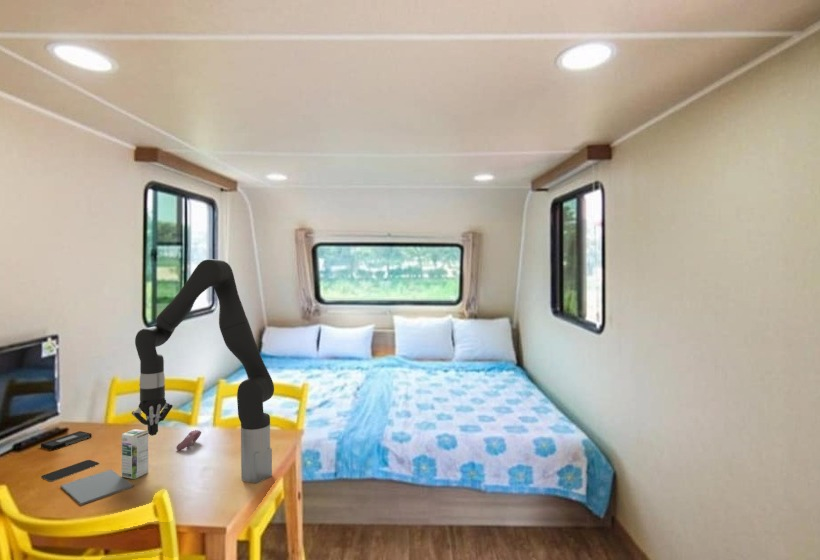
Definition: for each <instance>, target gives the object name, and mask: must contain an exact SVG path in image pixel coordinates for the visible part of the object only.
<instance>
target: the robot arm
mask: <svg viewBox="0 0 820 560" xmlns="http://www.w3.org/2000/svg"><path fill="white" fill-rule="evenodd" d="M210 287H213V289H214V291H215V294H216V296H217V300H218V304H219V311H218V312H219V313H218V326H219V330H220V334H221V336H222V339H223V342H224V343H225V346H226V348H227V349H228V350H229V351H230V353H232V355H233V356H234V357H236V358H237V360H238V361H240V363H241V364H242V366H243V367H244V370H245V373H246V376H247V378H246V379H245V380H243V381H241V383H239V385H238V388H237V391H236V392H237V393H236V401H237V416H238V419H239V421H240V466H241V467H240V468H241V469H240V470H241V471H240V472H241V473H240V474H241V476H240V477H241V480H242V481H244V482H247V483H255V484H257V483H260V482H262V481H264V480H267V479H269V478H271V477H272V476H273V448H272V447H271V416H270V414H268V413H266V412H264V403H265V402H267V401H268V400H270V399H271V398H273V395H274V392H275V385H274V382H273V379H272V377H271V375H270V373H269V371H268V369H267V366H266V365H265V363H264V360H263V358H262V356H261V353H260V350H259V348H258V345H257V343H256V340H255V337H254V334H253V331H252V328H251V325H250V323H249V319H248V317H247V315H246V312H245V310H244V307H243V304H242V301H241V298H240V296H239V293H238V292H239V291H238V288H237V284H236V280H235V275H234V272H233V269H232V267H231V266H230V264H229V262H227V261H224V260H221V259H214V258H207V259H203V260H202V261H201V262H199V263H198V264H197V266H196V267H195V269H194V270H193V272H192V273H191V274H190V276H189V277H188V279H187V281H186V282H185V283H184V284H183V286H182V288H181V289H180V290H179V292H178V293H177V294H176V296H175V297H174V298H173V299H172V300H171V301H170V302H169V303H168V304H167V305H166V306H165V307H164V308H163V309H162V311H160V313H159V314H158V315H157V316H156V320H155V321H156V323H155V325H153V326H150V327H146V328H145V327H144V328H142V329H139V331H138V332H137V333H136V335H135V338H134V344H135V349H136V352H137V356H138V358H139V362H140V365H139V366H140V367H139V368H140V371H139V372H140V376H139V404H138V408H137V409H135V410H134V411H132V412H131V415H132V416H133V417H134V418H135V419H136V420H138V422H140V424H141V425H142V424H143V425H145V426H147V431H148V435H149V436H156V435H157V433H158V432H159V423H160V422H162V421H164V420H165V419H166V417H168V414H169V413H170V411H171V410H172V408H173V404H171V403H168V402H167V400H166V384H165V383H166V382H165V381H166V377H165V366H164V365H165V360H164V359H165V358H164V356H163V354H160V353H158V352H157V347H160V346H162V345H165V343H166V342H167V341H169V339H170V338H171V337H172V335H173V334H174V332H175V330H176V329H177V327H178V326H179V325H180V324H181V323H182V322H183V321H184V320H185V319H186V318H187V316H188V315H190V312H191V310H192V309H193V307H194V304H195V302H196V300H197V299H198V298H199V296H200V295H201V294H203V293H204V292H205V291H206V290H207V289H209V288H210ZM142 413H143V414H144V415H145V418H146V419H145V418H144V417H143V416H142Z"/></svg>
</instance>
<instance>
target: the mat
mask: <svg viewBox="0 0 820 560" xmlns="http://www.w3.org/2000/svg"><path fill="white" fill-rule="evenodd" d="M133 487H134V484H132V483H131V482H130V481H128V480H127V479H126V478H125V477H122V475H119V474H118V473H117V472H115V471H114V470H112V469H107V470H104V471H102V472H98V473H95V474H92V475H88V476H85V477H82V478H79V479H76V480H73V481H70V482H67V483H63V484H60V488H61V489H62V490H64V491H65V493H67V494H68V495H69V496H71V498H72V499H73V500H74V501H75V502H77V503H78V504H79V506H83V505H85V504H89V503H92V502H94V501H97V500H99V499H103V498H105V497H108V496H110V495H114V494H117V493H120V492H123V491H126V490H129V489H131V488H133Z"/></svg>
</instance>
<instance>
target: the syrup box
mask: <svg viewBox="0 0 820 560" xmlns="http://www.w3.org/2000/svg"><path fill="white" fill-rule="evenodd" d="M147 473H149V434H148V430H143V429H137V428H135V429H131V430H129V431H126V432H124V433H122V434H121V477H122V478H125V479H126V478H127V479H132V480H135V479H138V478H140V477H142V476H144V475H146V474H147Z"/></svg>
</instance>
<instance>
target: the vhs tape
mask: <svg viewBox="0 0 820 560" xmlns="http://www.w3.org/2000/svg"><path fill="white" fill-rule="evenodd" d="M90 437H91V438H92V433H90V432H86V431H83V430H82V431H81V430H80V431H76V432H73V433H69V434H66V435H64V436H60V437H56V438H53V439H51V440H48V441H44V442H42V443H40V448H43V449H46V448H47V449H46V450H49V449H51V451H55V450H58V449H61V448H65V447H66V445H67V446H70V445H73V444H75V443H78V441H79V442H82V441H84V440H88V439H91V438H90ZM87 438H88V439H87ZM81 440H82V441H81ZM69 444H70V445H69ZM60 447H61V448H60ZM57 448H58V449H57ZM54 449H55V450H54Z"/></svg>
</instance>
